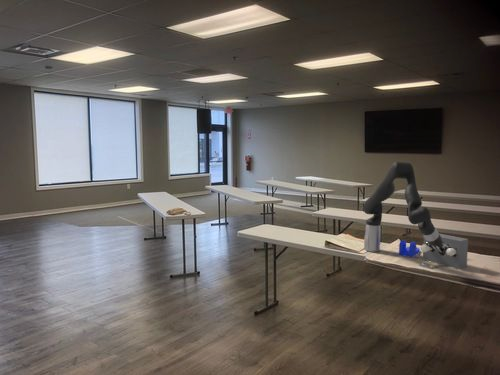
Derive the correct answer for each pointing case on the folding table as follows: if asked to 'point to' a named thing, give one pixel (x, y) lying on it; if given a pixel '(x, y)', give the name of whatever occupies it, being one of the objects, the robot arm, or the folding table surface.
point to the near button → (451, 251)
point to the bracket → (408, 249)
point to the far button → (425, 248)
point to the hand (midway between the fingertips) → (442, 254)
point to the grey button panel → (451, 261)
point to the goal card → (428, 265)
